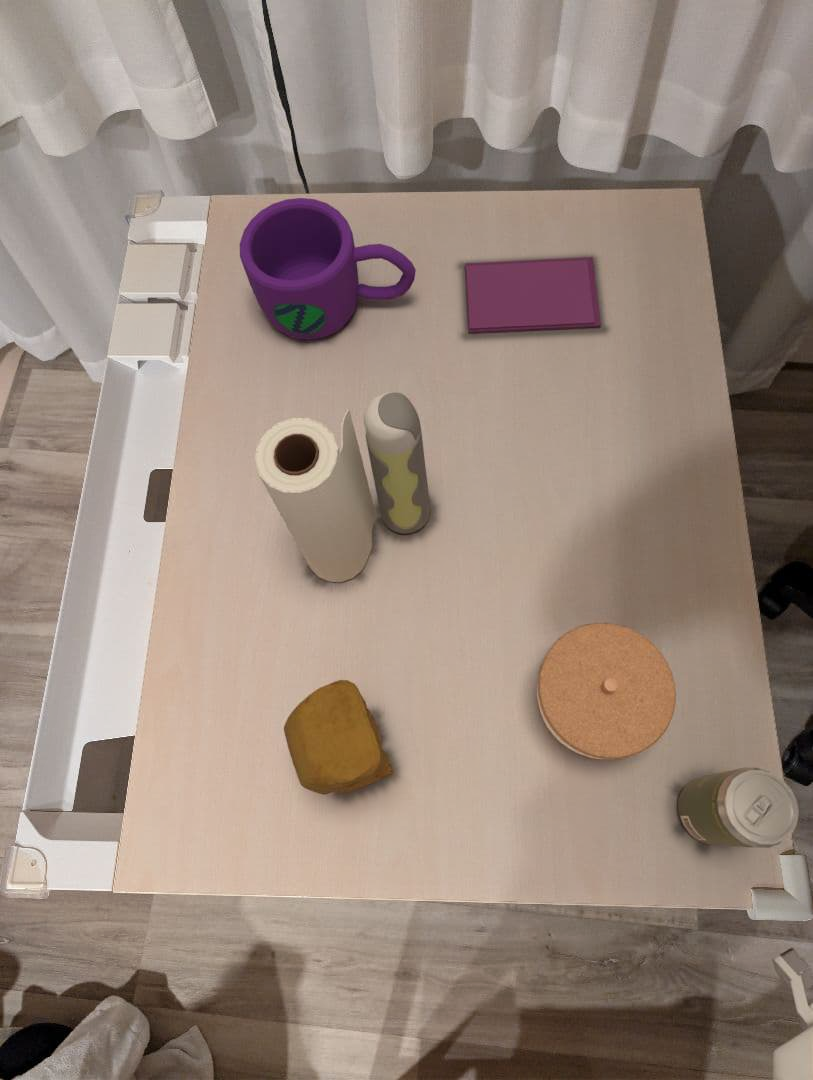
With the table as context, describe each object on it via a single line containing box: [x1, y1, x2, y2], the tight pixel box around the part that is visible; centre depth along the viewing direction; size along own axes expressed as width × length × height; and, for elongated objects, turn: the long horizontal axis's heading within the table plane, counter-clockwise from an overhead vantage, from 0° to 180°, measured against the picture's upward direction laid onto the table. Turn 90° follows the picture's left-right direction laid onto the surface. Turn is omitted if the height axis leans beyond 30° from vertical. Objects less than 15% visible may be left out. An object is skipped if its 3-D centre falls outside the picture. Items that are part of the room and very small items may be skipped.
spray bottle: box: [363, 391, 431, 535], centre depth 66 cm, size 5×5×20 cm
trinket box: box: [536, 622, 677, 760], centre depth 64 cm, size 11×11×9 cm
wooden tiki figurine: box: [283, 679, 394, 796], centre depth 61 cm, size 7×6×15 cm
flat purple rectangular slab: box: [464, 256, 602, 334], centre depth 83 cm, size 14×9×1 cm, turn 91°
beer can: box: [677, 767, 800, 849], centre depth 59 cm, size 5×5×12 cm
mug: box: [239, 197, 417, 341], centre depth 80 cm, size 17×11×10 cm, turn 87°
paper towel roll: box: [254, 408, 377, 583], centre depth 65 cm, size 7×6×21 cm
